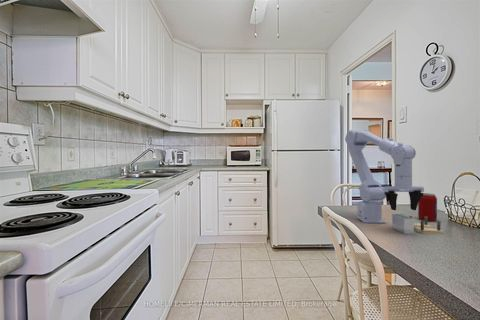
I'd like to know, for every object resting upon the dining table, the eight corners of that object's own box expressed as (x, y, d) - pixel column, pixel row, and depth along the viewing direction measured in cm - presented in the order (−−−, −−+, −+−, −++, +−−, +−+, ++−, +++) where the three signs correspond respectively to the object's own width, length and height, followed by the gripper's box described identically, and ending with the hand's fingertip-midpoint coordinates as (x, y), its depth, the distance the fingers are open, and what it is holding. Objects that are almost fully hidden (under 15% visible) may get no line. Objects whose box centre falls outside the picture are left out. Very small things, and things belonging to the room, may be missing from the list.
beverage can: (440, 221, 105) (441, 195, 105) (425, 221, 105) (425, 195, 105) (428, 217, 112) (429, 192, 111) (414, 217, 112) (414, 192, 112)
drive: (413, 234, 89) (413, 218, 89) (404, 234, 89) (404, 218, 89) (401, 228, 97) (401, 213, 97) (392, 227, 97) (392, 213, 97)
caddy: (444, 234, 89) (444, 222, 89) (422, 233, 90) (422, 222, 90) (425, 225, 99) (425, 215, 99) (405, 225, 100) (406, 215, 100)
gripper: (390, 176, 89) (390, 212, 89) (429, 176, 88) (429, 212, 89) (380, 175, 96) (380, 208, 96) (416, 175, 95) (417, 208, 96)
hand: (403, 209), depth 93 cm, fingers open, 7 cm apart
